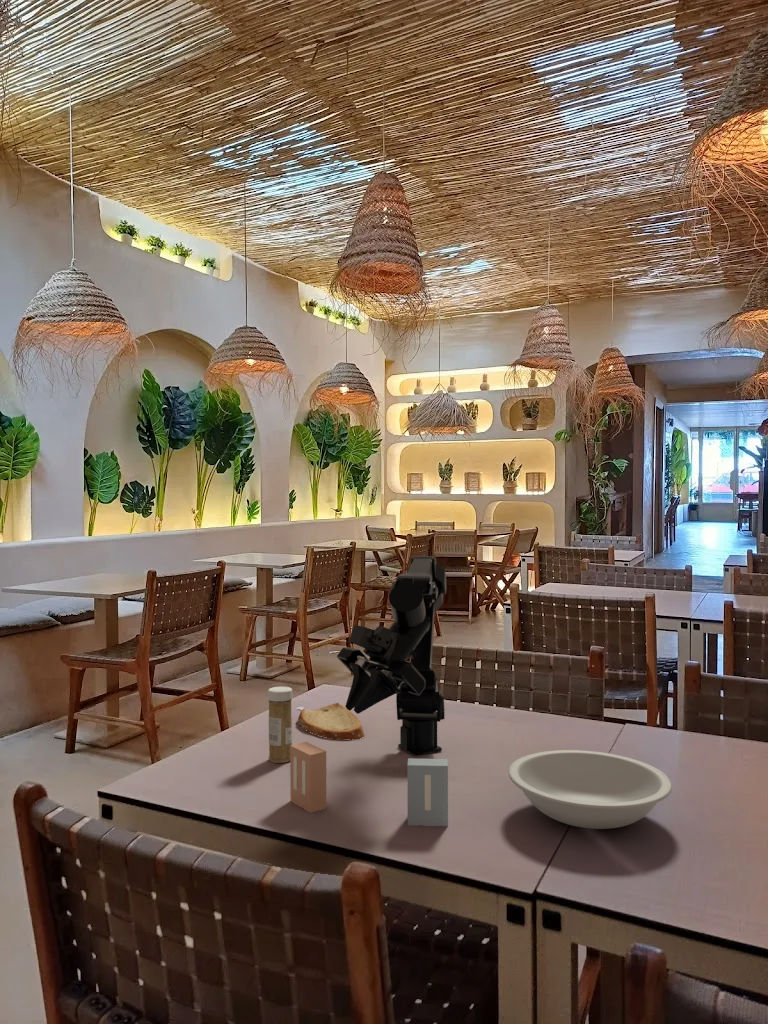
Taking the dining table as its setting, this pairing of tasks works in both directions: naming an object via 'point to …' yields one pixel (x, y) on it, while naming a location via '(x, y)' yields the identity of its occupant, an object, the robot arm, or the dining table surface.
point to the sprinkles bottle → (280, 724)
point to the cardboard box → (308, 776)
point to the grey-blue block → (428, 792)
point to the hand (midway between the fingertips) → (351, 710)
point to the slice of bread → (331, 722)
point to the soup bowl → (590, 787)
